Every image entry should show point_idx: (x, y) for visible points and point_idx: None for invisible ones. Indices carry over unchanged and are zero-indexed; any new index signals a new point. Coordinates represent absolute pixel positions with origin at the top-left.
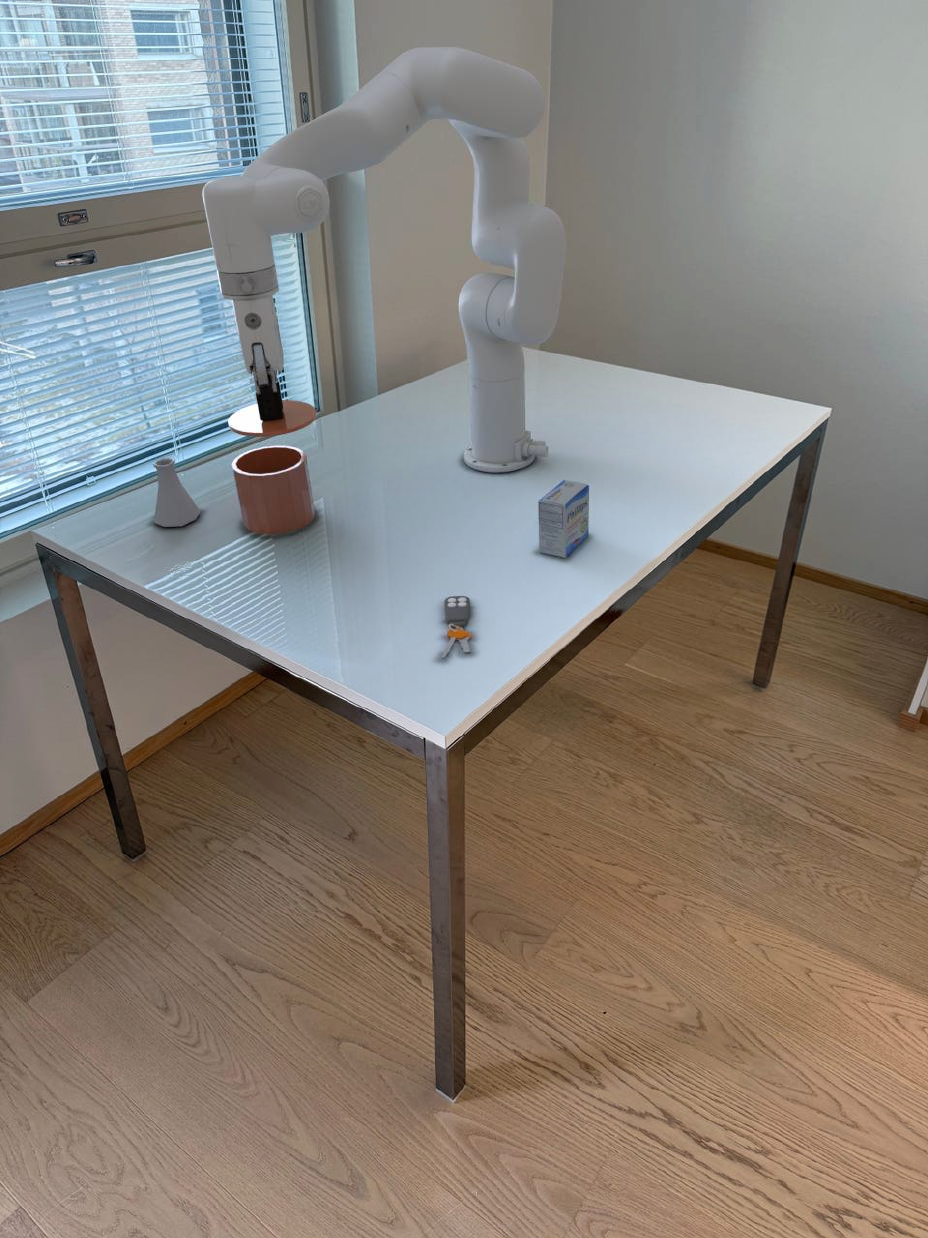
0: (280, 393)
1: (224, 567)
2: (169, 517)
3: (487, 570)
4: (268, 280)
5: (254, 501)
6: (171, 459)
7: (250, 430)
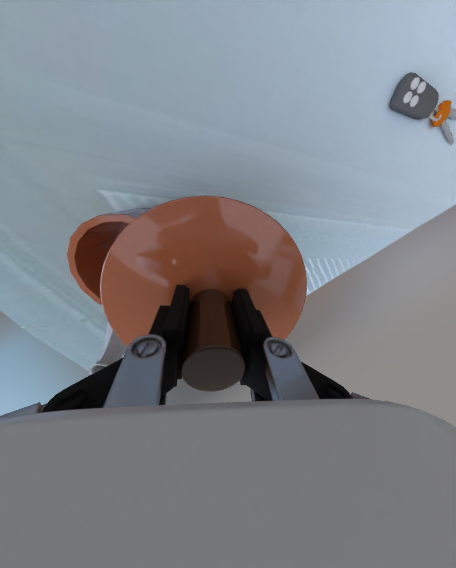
0: (181, 307)
1: None
2: None
3: (361, 10)
4: None
5: None
6: (94, 366)
7: None
